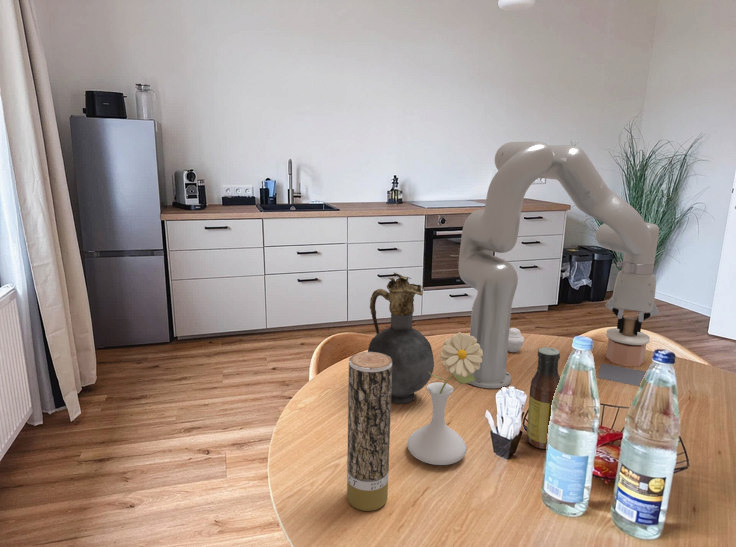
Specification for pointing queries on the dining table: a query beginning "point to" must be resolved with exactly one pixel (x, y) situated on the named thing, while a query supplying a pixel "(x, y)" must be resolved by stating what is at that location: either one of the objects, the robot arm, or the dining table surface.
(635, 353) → the bowl
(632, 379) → the mat
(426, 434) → the flower in vase
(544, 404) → the sauce bottle
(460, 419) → the dining table surface
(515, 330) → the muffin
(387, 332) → the pitcher
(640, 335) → the lid
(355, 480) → the paper tube
